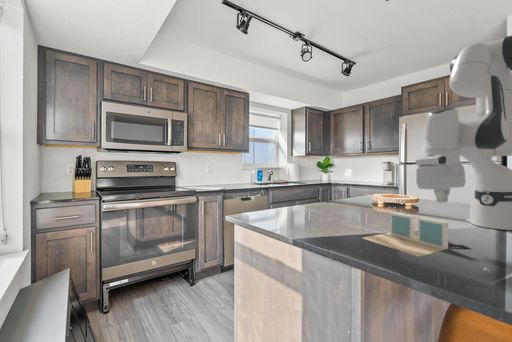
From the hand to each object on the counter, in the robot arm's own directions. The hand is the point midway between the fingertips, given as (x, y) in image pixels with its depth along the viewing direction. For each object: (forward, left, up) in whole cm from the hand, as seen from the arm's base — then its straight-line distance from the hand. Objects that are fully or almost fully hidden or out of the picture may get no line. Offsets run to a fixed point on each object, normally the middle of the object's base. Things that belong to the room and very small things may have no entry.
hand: (442, 202), depth 79 cm
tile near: (+5, 0, -13) cm, 14 cm away
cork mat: (+9, -6, -14) cm, 17 cm away
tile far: (+5, -10, -13) cm, 17 cm away
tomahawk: (-5, -3, -14) cm, 15 cm away
